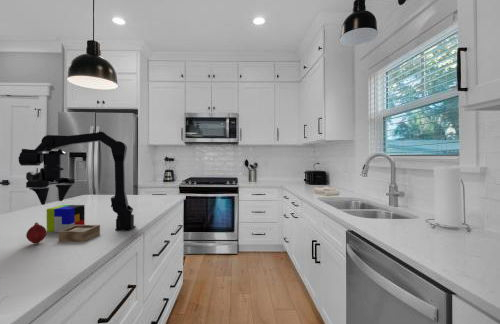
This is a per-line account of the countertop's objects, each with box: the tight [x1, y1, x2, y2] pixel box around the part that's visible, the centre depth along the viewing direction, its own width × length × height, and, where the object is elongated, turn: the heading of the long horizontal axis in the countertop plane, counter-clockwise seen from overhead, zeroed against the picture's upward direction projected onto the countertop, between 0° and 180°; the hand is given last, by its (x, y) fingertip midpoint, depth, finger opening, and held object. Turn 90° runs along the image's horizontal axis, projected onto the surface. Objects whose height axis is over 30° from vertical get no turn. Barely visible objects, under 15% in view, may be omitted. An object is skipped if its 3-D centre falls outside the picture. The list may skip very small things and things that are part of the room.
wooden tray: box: [58, 224, 101, 242], centre depth 104 cm, size 10×10×4 cm
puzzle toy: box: [46, 204, 86, 233], centre depth 117 cm, size 10×10×10 cm
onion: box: [25, 221, 48, 245], centre depth 96 cm, size 6×6×8 cm
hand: (52, 202), depth 107 cm, fingers open, 9 cm apart
